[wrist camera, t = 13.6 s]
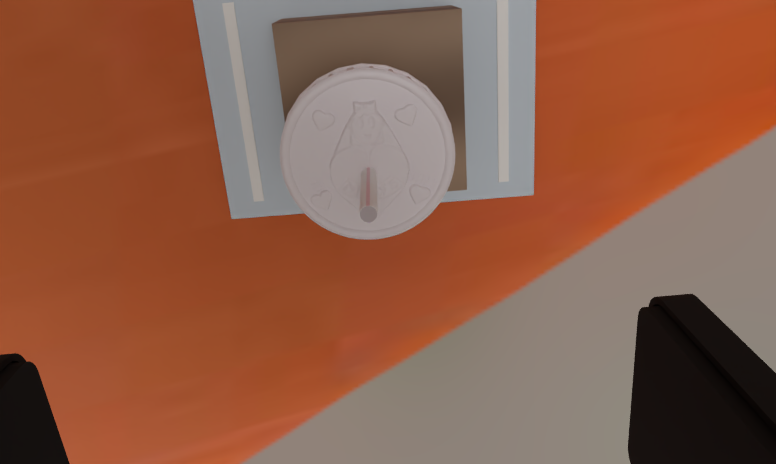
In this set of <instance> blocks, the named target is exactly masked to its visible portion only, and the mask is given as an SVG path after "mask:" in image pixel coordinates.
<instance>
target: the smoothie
mask: <svg viewBox="0 0 776 464" xmlns="http://www.w3.org/2000/svg"><path fill="white" fill-rule="evenodd" d="M280 165H281V171H282V175H283V178H284V181H285V184H286V186H287V189H288V191H289V193H290V195H291V196H292V198H293V200H294V201H295V203H296V204H297V205H298V206H299V208H300V209H301V210H302V211H303V212H304V213H305V214H306V215H307V216H308V217H309V218H310V219H311V220H313V221H314V222H315V223H317V224H318V225H320V226H321V227H323V228H325V229H327V230H329V231H331V232H333V233H336V234H338V235H341V236H345V237H349V238H355V239H365V240H368V239H382V238H387V237H391V236H394V235H398V234H400V233H403V232H405V231H407V230H409V229H411V228H413V227H414V226H416V225H418V224H419V223H420V222H422V221H423V220H424V219H426V218H427V217H428V216H429V215H430V214H431V213H432V212H433V211H434V210H435V208H436V207H437V206H438V205H439V203H440V202H441V200H442V199H443V197H444V195H445V194H446V192H447V190H448V187H449V185H450V182H451V179H452V176H453V172H454V166H455V143H454V137H453V133H452V127H451V123H450V121H449V119H448V117H447V114H446V112H445V110H444V108H443V106H442V104H441V102H440V101H439V100H438V99H437V98H436V96H435V95H434V94H433V93H432V92H431V90H430V89H429V88H428V87H427V86H426V85H425V84H423V83H422V82H420V81H419V80H417V79H416V78H414V77H413V76H412V75H410V74H409V73H407V72H404V71H401V70H398V69H396V68H393V67H390V66H387V65H380V64H366V63H360V64H355V65H350V66H345V67H340V68H337V69H335V70H333V71H331V72H329V73H327V74H325V75H323V76H321V77H319V78H317V79H316V80H315V81H314V82H313V83H312V84H311V85H310V86H308V87H307V88H306V89H305V90H304V91H303V92H302V93H301V94H300V95H299V97H298V98H297V100H296V101H295V103H294V105H293V106H292V108H291V109H290V111H289V113H288V115H287V118H286V122H285V125H284V129H283V132H282V135H281V142H280Z"/></svg>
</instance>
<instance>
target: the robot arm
mask: <svg viewBox="0 0 776 464" xmlns="http://www.w3.org/2000/svg"><path fill="white" fill-rule="evenodd" d="M628 453H629V459H630V463H631V464H776V373H775V372H774V371H773V370H772V369H771V368H770V367H769V366H768V365H767V364H766V363H765V362H764V361H763V360H761V359H760V358H759V357H758V356H757V355H756V354H755V353H754V352H753V351H752V350H751V349H750V348H749V347H748V346H747V345H746V344H745V343H744V342H743V341H742V340H741V339H740V338H739V337H738V336H737V335H736V334H735V333H733V331H732V330H730V329H729V328H728V327H727V326H726V325H725V324H724V323H723V322H722V321H721V320H720V319H719V318H718V317H717V316H716V315H715V314H714V313H713V312H712V311H711V310H710V309H709V308H708V307H707V306H706V305H705V304H704V303H702V302H701V301H700V300H699V299H698V298H697V297H696V296H695V295H693V294H684V295H672V296H661V297H654V298H653V299H651V301H650V304H649V307H643V308H641V309H640V311H639V315H638V322H637V336H636V350H635V362H634V375H633V388H632V401H631V414H630V427H629V440H628ZM0 464H69V461H68V458H67V455H66V452H65V449H64V446H63V443H62V440H61V437H60V434H59V431H58V428H57V426H56V423H55V420H54V417H53V414H52V411H51V408H50V405H49V402H48V399H47V396H46V393H45V390H44V387H43V384H42V381H41V378H40V375H39V372H38V370H37V368H36V366H35V365H34V364H33V363H31V362H26V361H25V359H24V358H23V357H22V356H21V355H19V354H16V353H15V354H4V355H0Z"/></svg>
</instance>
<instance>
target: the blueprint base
mask: <svg viewBox="0 0 776 464" xmlns="http://www.w3.org/2000/svg"><path fill="white" fill-rule="evenodd" d="M193 4H194V9H195V15H196V21H197V26H198V32H199V38H200V43H201V49H202V55H203V60H204V66H205V72H206V77H207V83H208V89H209V94H210V100H211V106H212V111H213V117H214V123H215V128H216V134H217V140H218V145H219V151H220V157H221V162H222V168H223V174H224V179H225V185H226V191H227V196H228V202H229V208H230V213H231V219H240V218H252V217H265V216H277V215H290V214H302V213H304V212H303V211H302V210H301V209H300V208H299V206H298V205H297V204H296V203H295V201H294V200H293V198H292V196H291V195H290V193H289V191H288V189H287V186H286V184H285V181H284V178H283V175H282V171H281V165H280V142H281V135H282V132H283V129H284V125H285V122H286V118H287V115H288V113H289V111H290V109H291V108H292V106H293V105H294V103H295V101H296V100H297V98H298V97H299V95H300V94H301V93H302V92H303V91H304V90H305V89H306V88H307V87H308V86H310V85H311V84H312V83H313V82H314V81H315V80H316V79H317V78H319V77H321V76H323V75H325V74H327V73H329V72H331V71H333V70H335V69H337V68H340V67H345V66H350V65H355V64H360V63H366V64H380V65H387V66H390V67H393V68H396V69H398V70H401V71H404V72H407V73H409V74H410V75H412V76H413V77H414V78H416V79H417V80H419V81H420V82H422V83H423V84H425V85H426V86H427V87H428V88H429V89H430V90H431V92H432V93H433V94H434V95H435V96H436V98H437V99H438V100H439V101H440V102H441V104H442V106H443V108H444V110H445V112H446V114H447V117H448V119H449V121H450V123H451V127H452V133H453V137H454V143H455V166H454V172H453V176H452V179H451V182H450V185H449V187H448V190H447V192H446V194H445V195H444V197H443V199H442V200H441V202H452V201H465V200H477V199H490V198H502V197H515V196H527V195H534V131H535V46H536V0H193Z"/></svg>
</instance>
